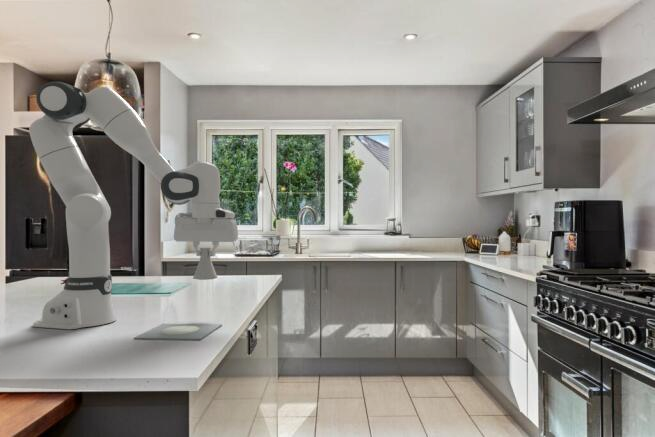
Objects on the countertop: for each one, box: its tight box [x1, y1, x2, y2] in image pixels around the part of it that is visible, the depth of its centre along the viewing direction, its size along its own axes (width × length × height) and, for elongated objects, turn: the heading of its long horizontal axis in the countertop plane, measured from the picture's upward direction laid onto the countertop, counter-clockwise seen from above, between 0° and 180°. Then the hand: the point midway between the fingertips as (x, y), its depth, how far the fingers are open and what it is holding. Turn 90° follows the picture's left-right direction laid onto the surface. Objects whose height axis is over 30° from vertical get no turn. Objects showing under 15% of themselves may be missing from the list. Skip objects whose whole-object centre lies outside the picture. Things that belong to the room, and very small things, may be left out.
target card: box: [133, 323, 223, 341], centre depth 124 cm, size 18×16×1 cm
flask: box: [192, 246, 218, 281], centre depth 144 cm, size 7×7×10 cm
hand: (205, 256), depth 144 cm, fingers closed on flask, 3 cm apart
